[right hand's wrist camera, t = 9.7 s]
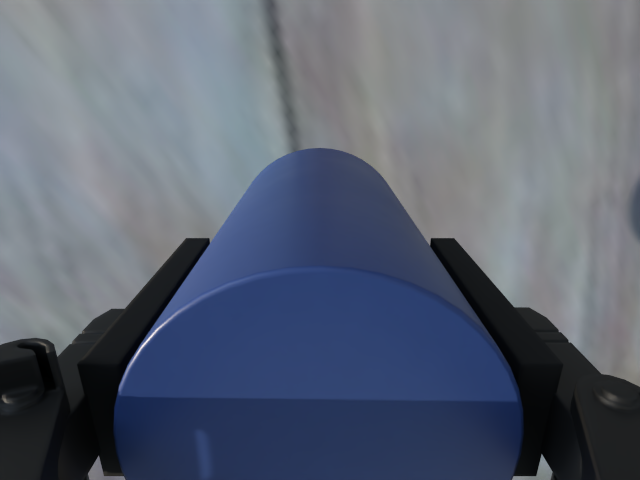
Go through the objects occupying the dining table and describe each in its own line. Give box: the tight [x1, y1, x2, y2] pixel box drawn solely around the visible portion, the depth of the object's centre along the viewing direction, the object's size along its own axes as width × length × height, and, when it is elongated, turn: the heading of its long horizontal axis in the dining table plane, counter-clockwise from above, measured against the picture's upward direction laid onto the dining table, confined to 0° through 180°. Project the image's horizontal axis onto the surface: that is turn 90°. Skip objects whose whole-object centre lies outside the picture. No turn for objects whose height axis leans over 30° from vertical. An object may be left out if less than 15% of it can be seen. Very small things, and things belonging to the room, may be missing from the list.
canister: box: [113, 148, 524, 480], centre depth 13 cm, size 7×7×12 cm
